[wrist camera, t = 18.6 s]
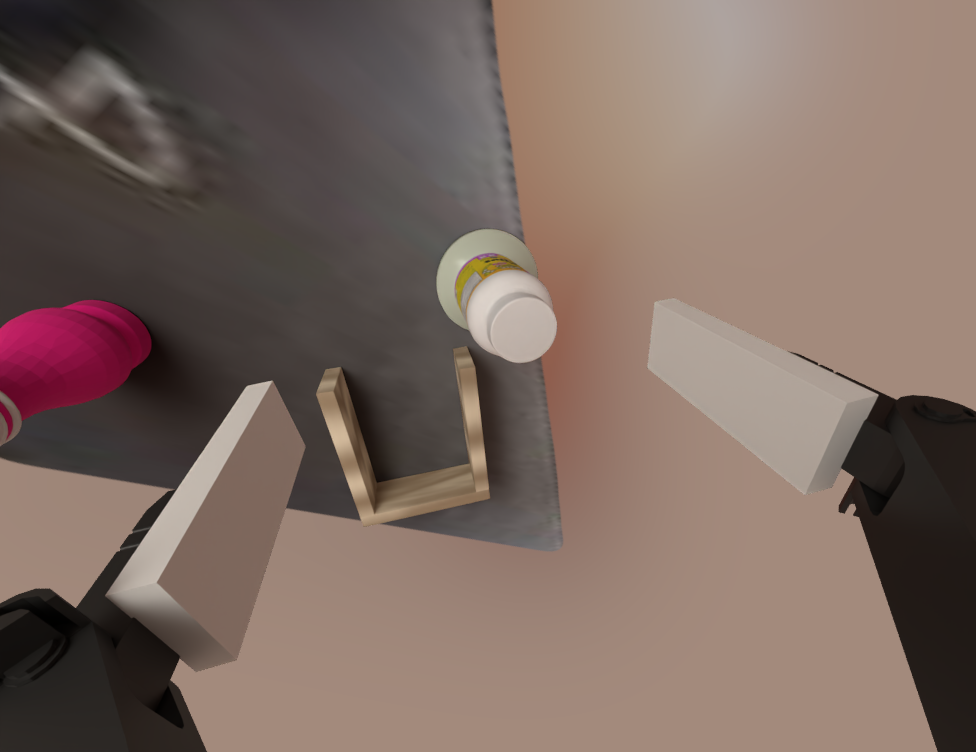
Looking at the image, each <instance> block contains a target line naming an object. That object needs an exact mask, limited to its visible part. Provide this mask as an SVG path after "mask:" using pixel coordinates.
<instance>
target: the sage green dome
mask: <svg viewBox="0 0 976 752" xmlns="http://www.w3.org/2000/svg"><path fill="white" fill-rule="evenodd" d="M482 253H497V254H500V255H503V256H505V257H507V258H509V259H510V260H512V261H513V262H514V263H516V264H517V265H519V266H520V267H522V268H523V269H524V270H526V271H527V272H529V273H530V274H532V275H533V276H534V277H536V278H537V279H538V272H537V267H536V263H535V260H534V258H533V256H532V254H531V252H530V251H529V249H528V248H527V247H526V246H525V244H524V243H523V242H521V241H520V240H519V239H518V238H516V237H515V236H513V235H511V234H509V233H507V232H504V231H501V230H497V229H490V228H487V229H478V230H474V231H471V232H468V233H466V234H464V235H462V236H461V237H459V238H458V239H456V240H455V241H454V242H453V243H452V244H451V245H450V246H449V247H448V249H447V250H446V251H445V253H444V254H443V256H442V258H441V260H440V263H439V266H438V269H437V275H436V288H437V293H438V297H439V300H440V303H441V305H442V307H443V309H444V311H445V312H446V314H447V315H448V316H449V317H450V318H451V320H452V321H454V322H455V323H456V324H457V325H459V326H461V327H462V328H464V329H466V330H469V328H468V326H467V323H466V321H465V319H464V317H463V315H462V313H461V311H460V308H459V306H458V304H457V301H456V298H455V293H454V285H455V280H456V277H457V274H458V272H459V270H460V268H461V267H462V266H463V265H464V263H466V262H467V261H468V260H469V259H471V258H472V257H474V256H476V255H479V254H482ZM469 331H470V330H469Z"/></svg>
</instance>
